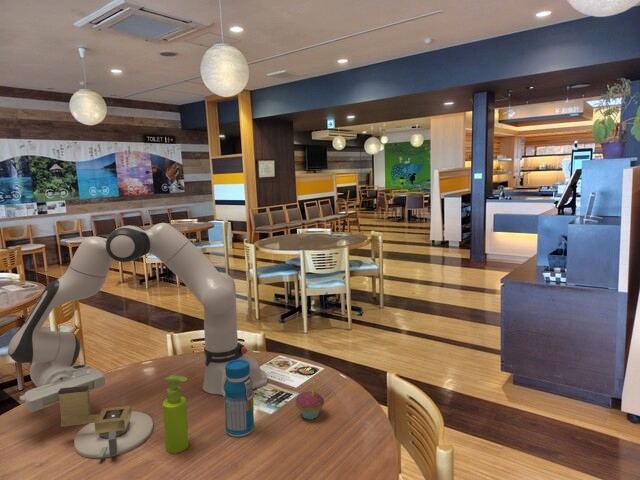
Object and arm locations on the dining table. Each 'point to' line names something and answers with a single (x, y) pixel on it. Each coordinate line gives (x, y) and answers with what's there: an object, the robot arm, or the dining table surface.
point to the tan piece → (89, 411)
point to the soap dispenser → (175, 417)
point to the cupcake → (309, 403)
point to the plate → (123, 442)
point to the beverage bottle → (238, 398)
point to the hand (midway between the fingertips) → (75, 398)
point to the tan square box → (118, 433)
